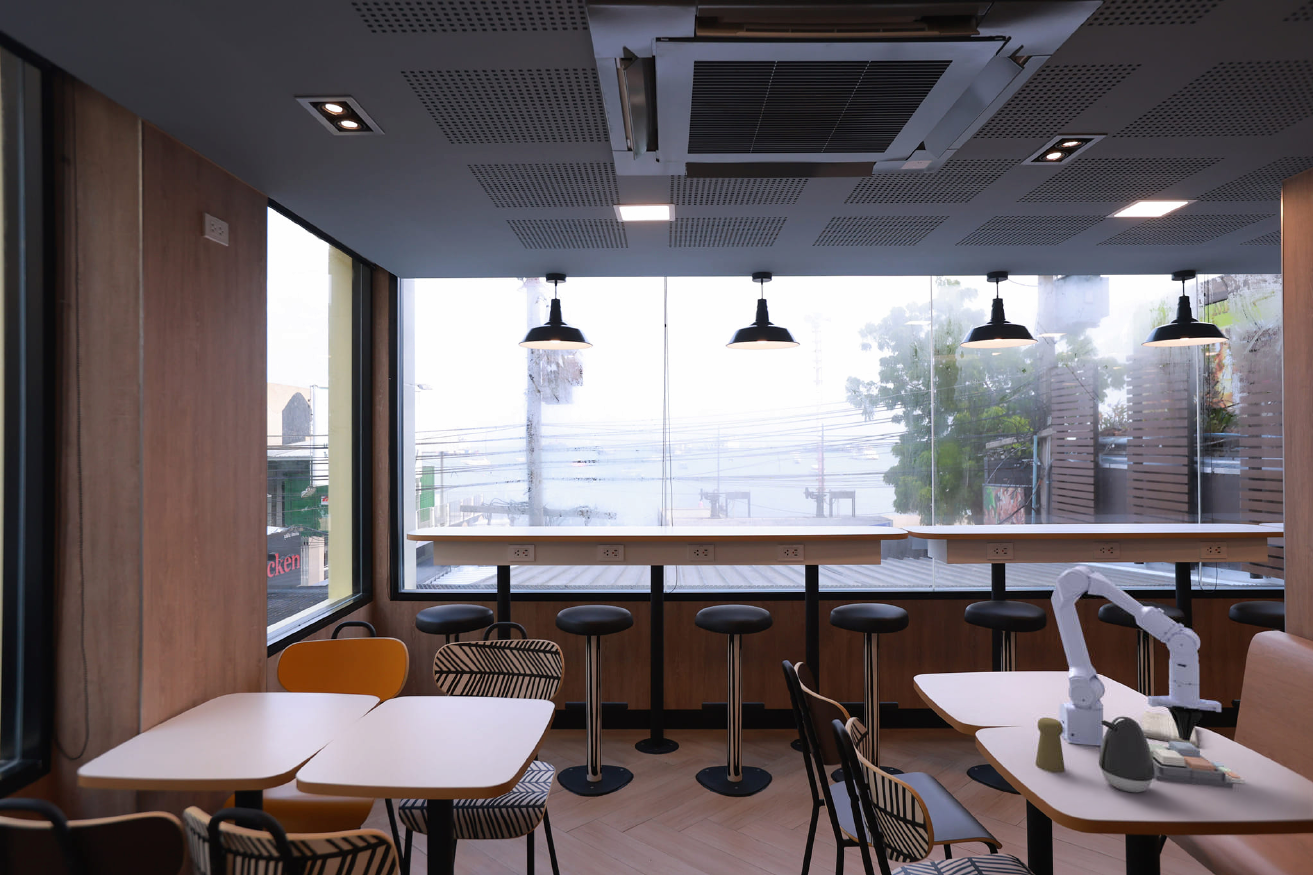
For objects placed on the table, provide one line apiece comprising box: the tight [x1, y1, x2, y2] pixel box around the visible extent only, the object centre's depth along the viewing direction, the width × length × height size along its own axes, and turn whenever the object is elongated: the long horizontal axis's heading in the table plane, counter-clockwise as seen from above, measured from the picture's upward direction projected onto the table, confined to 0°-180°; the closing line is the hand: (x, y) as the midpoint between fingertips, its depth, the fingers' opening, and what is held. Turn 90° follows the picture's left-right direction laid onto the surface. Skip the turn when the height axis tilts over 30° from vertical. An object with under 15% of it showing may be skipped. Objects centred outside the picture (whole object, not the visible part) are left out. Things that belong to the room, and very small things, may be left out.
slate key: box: [1168, 741, 1201, 758], centre depth 166 cm, size 4×4×2 cm
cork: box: [1035, 717, 1066, 774], centre depth 164 cm, size 6×6×11 cm
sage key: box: [1148, 743, 1167, 755], centre depth 167 cm, size 4×4×2 cm
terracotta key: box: [1182, 756, 1215, 771], centre depth 160 cm, size 4×4×2 cm
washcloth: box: [1141, 711, 1198, 748], centre depth 187 cm, size 12×18×3 cm, turn 145°
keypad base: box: [1152, 746, 1234, 789], centre depth 164 cm, size 15×15×3 cm
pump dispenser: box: [1098, 715, 1155, 793], centre depth 154 cm, size 10×10×15 cm
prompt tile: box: [1210, 761, 1244, 784], centre depth 162 cm, size 2×9×1 cm, turn 168°
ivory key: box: [1153, 749, 1185, 766], centre depth 162 cm, size 4×4×2 cm
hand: (1184, 738), depth 166 cm, fingers closed
